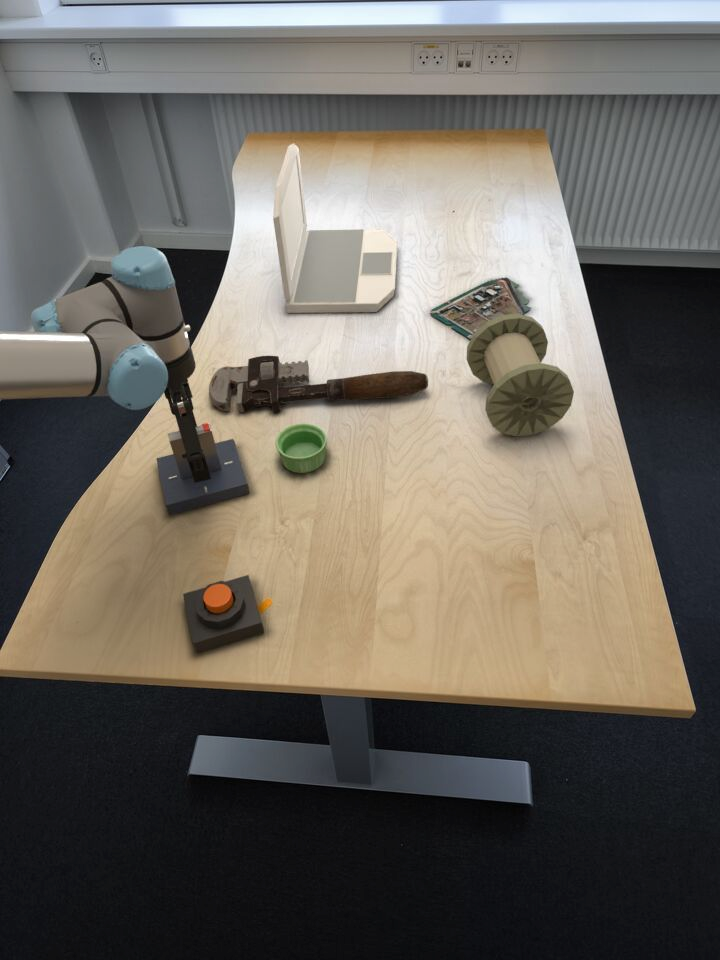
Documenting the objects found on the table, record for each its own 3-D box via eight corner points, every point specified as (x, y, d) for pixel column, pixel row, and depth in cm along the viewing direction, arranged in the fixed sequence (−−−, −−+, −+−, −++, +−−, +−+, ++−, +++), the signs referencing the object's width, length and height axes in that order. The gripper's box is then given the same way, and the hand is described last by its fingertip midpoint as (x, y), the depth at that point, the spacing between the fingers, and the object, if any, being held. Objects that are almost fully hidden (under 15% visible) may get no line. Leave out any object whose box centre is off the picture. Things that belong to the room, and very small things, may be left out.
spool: (565, 430, 133) (579, 364, 122) (484, 440, 132) (491, 374, 121) (539, 375, 144) (549, 309, 134) (464, 383, 144) (469, 318, 133)
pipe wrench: (209, 422, 141) (203, 405, 137) (213, 374, 149) (208, 356, 145) (430, 402, 140) (430, 383, 136) (422, 355, 148) (422, 336, 144)
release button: (208, 617, 104) (205, 610, 103) (203, 595, 107) (201, 588, 105) (235, 609, 105) (233, 602, 104) (230, 587, 107) (228, 580, 106)
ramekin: (276, 445, 134) (273, 427, 131) (324, 437, 135) (322, 419, 132) (281, 479, 128) (278, 462, 125) (332, 471, 129) (330, 453, 126)
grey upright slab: (181, 479, 126) (169, 440, 119) (180, 471, 127) (167, 432, 120) (221, 468, 127) (211, 429, 120) (219, 461, 128) (209, 422, 122)
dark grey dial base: (169, 515, 123) (165, 504, 122) (159, 467, 131) (156, 457, 130) (249, 493, 126) (247, 482, 124) (235, 448, 134) (233, 437, 132)
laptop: (394, 312, 162) (392, 196, 143) (286, 313, 164) (269, 199, 144) (398, 237, 185) (396, 129, 166) (303, 239, 187) (290, 132, 167)
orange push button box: (196, 653, 105) (189, 636, 102) (186, 603, 111) (180, 586, 108) (264, 632, 107) (259, 615, 103) (251, 585, 113) (246, 567, 109)
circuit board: (500, 275, 170) (500, 271, 169) (548, 302, 162) (549, 298, 161) (427, 311, 161) (427, 307, 160) (474, 341, 153) (474, 338, 152)
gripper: (204, 392, 101) (232, 497, 117) (178, 303, 117) (205, 406, 133) (150, 405, 100) (185, 510, 116) (131, 313, 116) (164, 416, 132)
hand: (196, 454), depth 124 cm, fingers open, 12 cm apart
